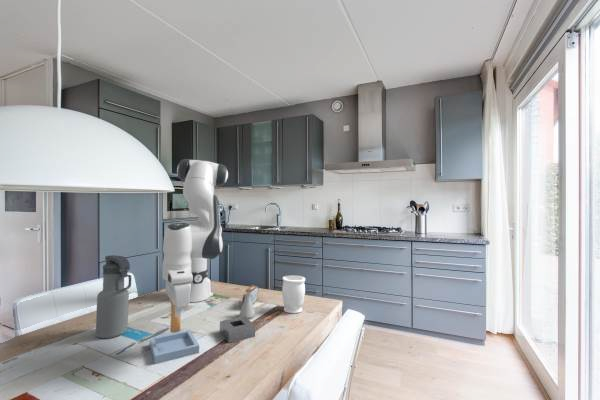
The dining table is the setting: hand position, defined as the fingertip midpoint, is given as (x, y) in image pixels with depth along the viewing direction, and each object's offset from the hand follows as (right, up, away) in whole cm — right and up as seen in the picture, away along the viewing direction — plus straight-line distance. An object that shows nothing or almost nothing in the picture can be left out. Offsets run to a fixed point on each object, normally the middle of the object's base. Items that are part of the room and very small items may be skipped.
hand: (175, 313), depth 96 cm
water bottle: (-27, -11, +10) cm, 31 cm away
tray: (-1, -12, 0) cm, 12 cm away
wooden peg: (0, -6, 0) cm, 6 cm away
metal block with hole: (+18, -12, +12) cm, 25 cm away
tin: (+18, -13, +43) cm, 48 cm away
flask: (+18, -13, +29) cm, 37 cm away
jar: (+38, -13, +38) cm, 55 cm away
